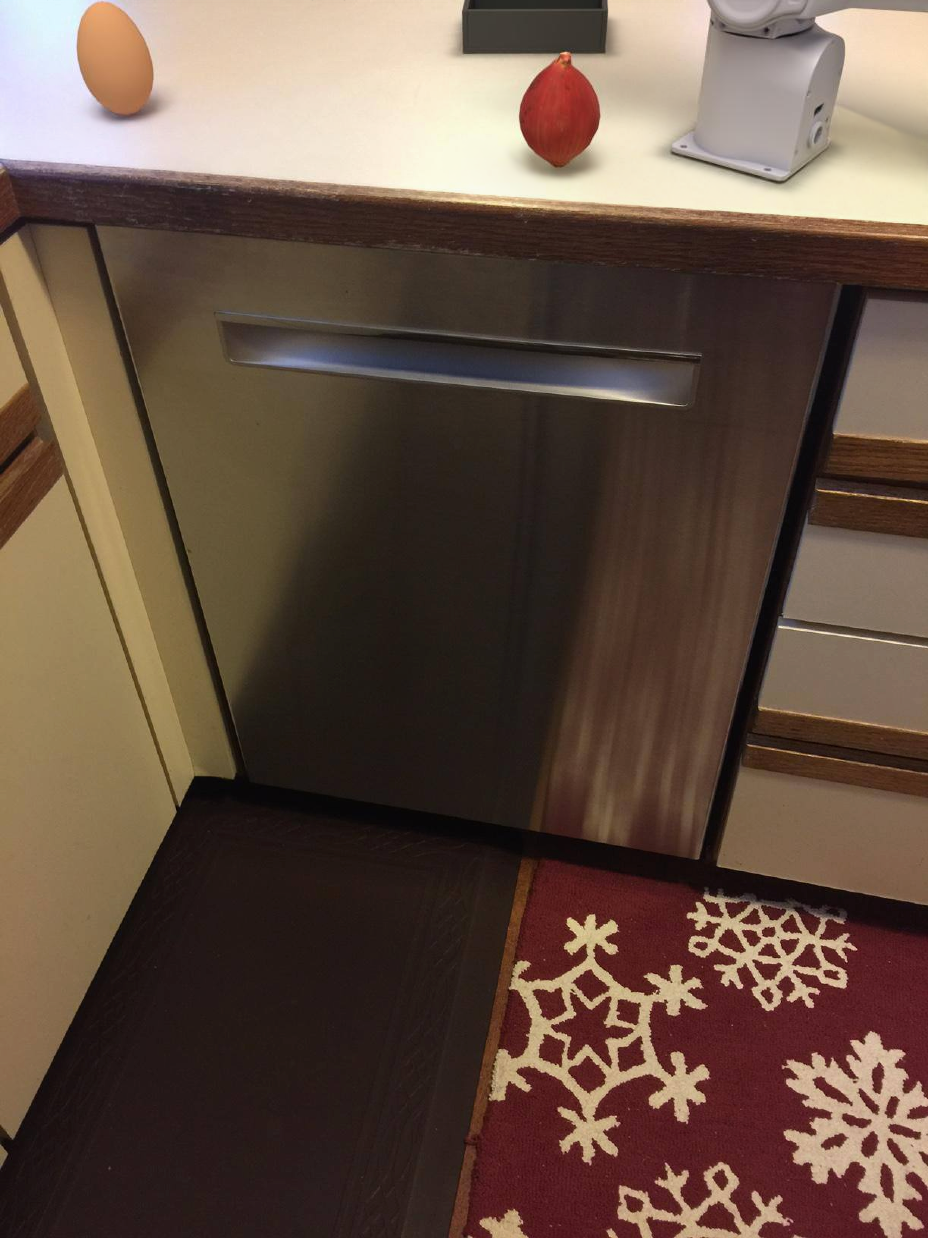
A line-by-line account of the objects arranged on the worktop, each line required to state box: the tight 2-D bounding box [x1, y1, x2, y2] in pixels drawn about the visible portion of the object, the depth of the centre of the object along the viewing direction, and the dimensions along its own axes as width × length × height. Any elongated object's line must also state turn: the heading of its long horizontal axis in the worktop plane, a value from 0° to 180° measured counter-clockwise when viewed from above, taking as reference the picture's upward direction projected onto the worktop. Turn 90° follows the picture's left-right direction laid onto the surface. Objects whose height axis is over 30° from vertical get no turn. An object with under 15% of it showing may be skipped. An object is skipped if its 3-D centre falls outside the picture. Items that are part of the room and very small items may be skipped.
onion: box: [518, 52, 601, 169], centre depth 74 cm, size 6×6×8 cm
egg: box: [76, 0, 155, 116], centre depth 84 cm, size 6×6×8 cm
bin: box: [461, 0, 609, 54], centre depth 96 cm, size 13×8×4 cm, turn 86°
